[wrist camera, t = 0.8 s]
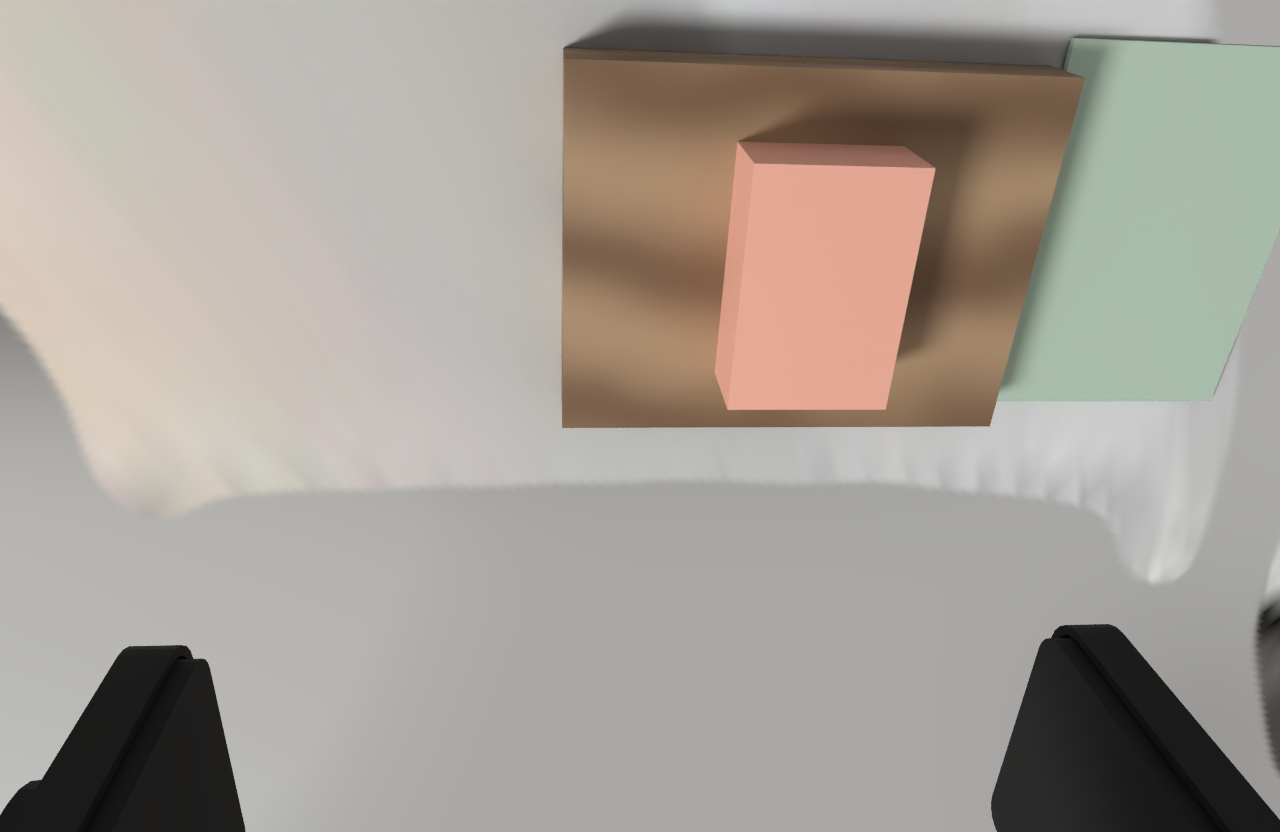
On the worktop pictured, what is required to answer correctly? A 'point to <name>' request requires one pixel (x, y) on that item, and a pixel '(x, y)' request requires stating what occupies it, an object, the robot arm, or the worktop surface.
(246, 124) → the worktop surface
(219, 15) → the worktop surface
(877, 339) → the pink rectangular block
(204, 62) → the worktop surface
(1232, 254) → the mat
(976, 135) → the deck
